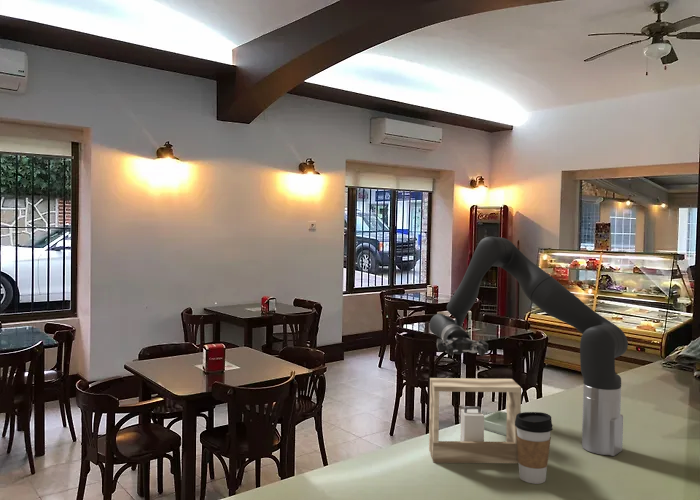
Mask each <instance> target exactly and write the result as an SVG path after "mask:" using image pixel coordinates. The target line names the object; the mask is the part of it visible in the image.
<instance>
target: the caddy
mask: <svg viewBox="0 0 700 500" xmlns="http://www.w3.org/2000/svg"><path fill="white" fill-rule="evenodd" d="M484 416H485V415H484V413H483V412H482V408H481V407H480V406H478V405H477V406H476V405H475V406H467V405H465V406H464V407H463V408H461V409H460V438H459V439H460V440H459V441H479V442H485V430H484Z"/></svg>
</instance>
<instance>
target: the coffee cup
mask: <svg viewBox="0 0 700 500" xmlns="http://www.w3.org/2000/svg"><path fill="white" fill-rule="evenodd" d="M552 422H553V421H552V415H550V414H548V413H547V412H546V413H545V412H538V411H524V412H521V413H519V414H517V415H516V420H515V426H516V427H517V433H516V438H517V451H518V462H519V463H518V476H519V479H520V480H522V481H523V482H525V483H529V484H536V485H537V484H543V483H545V482H546V479H547V472H548V471H547V469H548V464H549V463H548V462H549V457H550V456H549V454H550V448H551V447H550V446H551V445H550V444H551V437H552V436H551V431H553V426H554V425H553V423H552Z"/></svg>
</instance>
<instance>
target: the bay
mask: <svg viewBox="0 0 700 500" xmlns="http://www.w3.org/2000/svg"><path fill="white" fill-rule="evenodd" d="M440 392H442V393H443V392H446V393H447V392H453V393H455V392H457V393H459V392H462V393H463V392H465V393H466V392H467V393H469V392H470V393H506V413H507V425H506V436H505V437H506V438H505V441H484V442H479V441H460V440H458V441H456V440H455V441H453V440H448V441H447V440H443V441H442V440H439V435H440V434H439V430H440V429H439V427H440V424H439V423H440ZM521 406H522V387H521V386H520V385H519V384H518V382H516V381H515V380H514V379H513V378H480V377H479V378H477V377H476V378H474V377H473V378H472V377H471V378H469V377H467V378H464V377H463V378H461V377H460V378H458V377H457V378H456V377H454V378H453V377H450V378H449V377H429V418H428V420H429V422H428V423H429V426H428V430H429V431H428V437H429V438H428V451H429V455H430V457H431V459H432V462H433V463H434V464H435V463H442V464H446V463H447V464H450V463H452V464H453V463H454V464H455V463H457V464H460V463H461V464H519V462H518V451H517V438H516V433H517V427H516V426H515V420H516V415H517V414H519V413H522V411H521V410H522V407H521Z"/></svg>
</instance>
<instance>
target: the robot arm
mask: <svg viewBox="0 0 700 500" xmlns="http://www.w3.org/2000/svg"><path fill="white" fill-rule="evenodd" d="M468 264H469V265H468V267H467V269H466V271H465V273H464V276H463V278H462V279H461V282H460V284H459V285H458V287H457V289H456V290H455V292H454V294H453V295H452V296H451V298H450V299H449V301H448V303H447V305H446V310H447V312H448V313H449V314H450V315H451V316H452V317H454V319H453V318H452V317H449V316H448V315H446V314H443V313H436V314H434V315H433V316H432V317H431V319H430V321H429V330H430V332H431V333H432V334H433V335H434V336H436V337H438V338H436V349H437V352H439V353H443V352H445V353H447V354H449V356H454V354H455V355H462V354H463V353H467V352H468V353H471V354H476V353H477V354H478V355H479V356H481V357H483V356H484V355H486V354H488V353H489V343H488V342H486V341H485V340H484V339H478V341H477V340H474V339H471V337H470V335H469V333H468V332H467V331H466V330H464V328H463V324H464V322H465V319H466V317H467V314H468V313H469V311H470V310H471V309H472V308H473V306H474V304H475V302H476V300H477V298H478V295H479V292H480V291H479V290H480V286H481V283H482V280H483V279H484V276H485V275H486V273H488V271H489V270H490V269H491V268H492V267H499V268H501V269H503V270H504V271H506V272H507V273H509V274H510V275H511V276H513V278H514V279H515V280H516V282H518V284H519V285H520V288H521V289H522V292H523V293H524V294H525V295H524V296H526V297H527V298H528V300H530V301H531V302H532V304H534V305H535V306H537V308H539V309H540V310H541V311H543V313H545V314H547V315H549V316H551V317H552V318H555V319H556V320H559V321H560V322H563V323H565V324H567V325H569V326H571V327H573V328H574V329H576V330H577V331H578V332H580V333H581V334H582V335H581V337H580V343H579V345H580V347H579V356H580V357H579V359H580V360H579V362H580V363H579V364H580V373H581V375H582V378H583V379H582V380H583V381H582V382H583V385H582V386H583V387H582V388H583V389H582V391H583V392H582V423H581V424H582V425H581V426H582V428H581V447H582V449H584V450H585V451H588V452H590V453H592V454H597V455H602V456H603V455H605V456H611V457H616V455H618V454H619V453H620V452H622V451H623V444H624V443H623V442H624V441H623V440H624V439H623V438H624V435H623V434H624V415H623V414H621V412H622V411H621V410H622V409H621V408H622V407H621V406H622V401H621V400H622V398H621V397H622V378H621V376H620V375H619V374H618V373H616V360H615V359H617V358H619V357H621V356H622V355H624V354H625V353H626V352H627V350H628V347H629V343H628V338H627V336H626V334H625V332H624V331H623V330H622V329H621V328H620V327H619V326H618V325H616V324H614V323H613V322H611V321H610V320H608V319H606V318H605V317H604V316H602V315H601V314H599V313H598V312H596V311H595V310H593V308H591V307H589V306H588V305H587V304H585V302H583V301H582V300H581V299H580V298H578V297H577V296H576V295H575V294H573V292H571V291H570V290H569V289H568V288H566V287H565V286H564V285H563V284H562V283H560V282H559V281H558V280H556V279H555V278H554V277H553V276H551V275H550V274H549V273H547V272H546V271H545V270H543V269H542V268H541V267H539V266H538V265H537V264H536V263H534V262H533V261H531V260H530V259H529V258H528V257H527V256H526V255H525V254H524V253H523V252H522V251H521V250H520V249H519V248H518V247H517V246H516V245H515V244H514V243H513V242H512V241H511V240H510V239H507V238H505V237H500V236H498V237H497V236H486V237H484V238H482V239H481V240H480V241H479V243H478V244H477V246H476V248H475V250H474V252H473V255H472V257H471V259H470V262H469V263H468ZM484 357H485V356H484Z"/></svg>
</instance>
